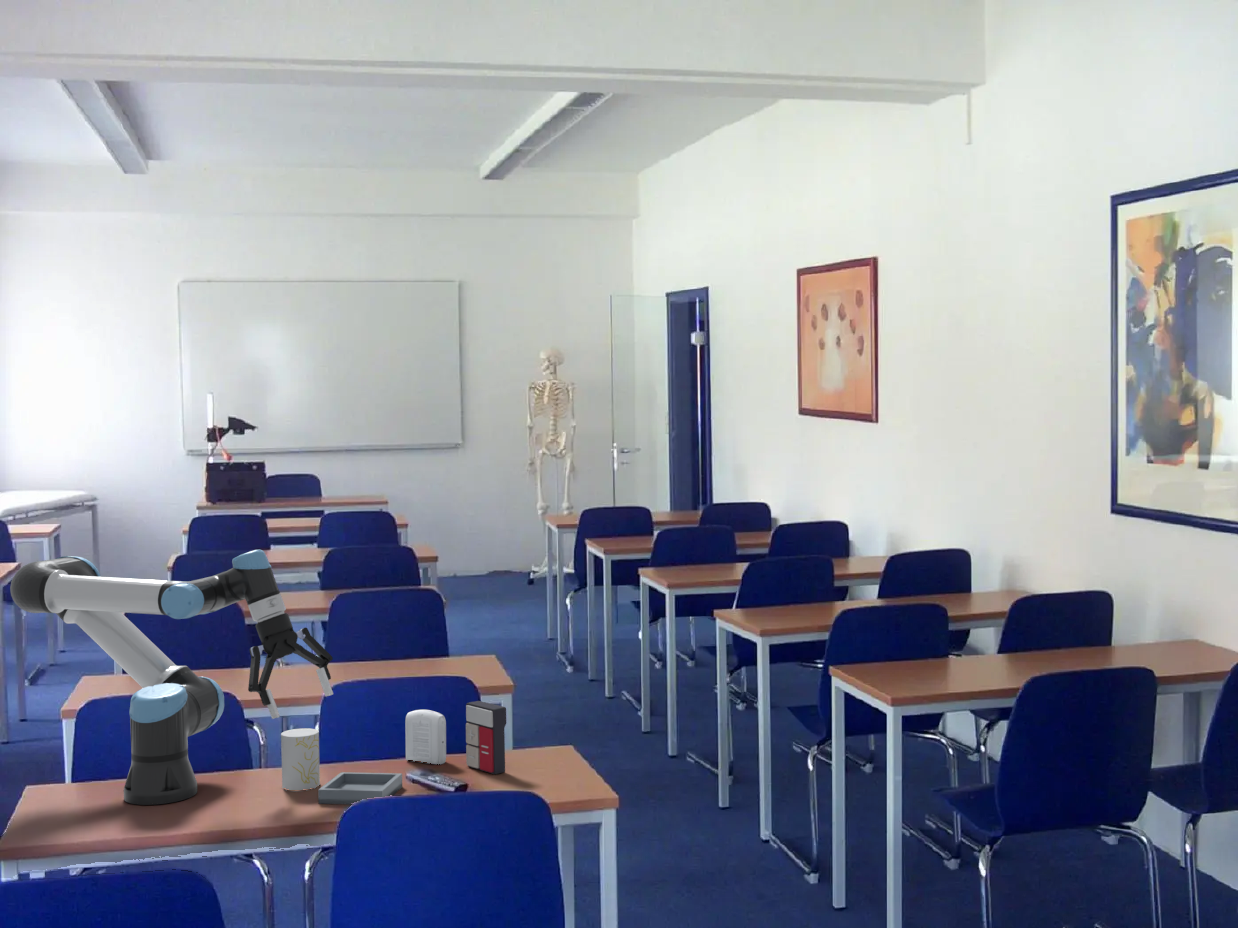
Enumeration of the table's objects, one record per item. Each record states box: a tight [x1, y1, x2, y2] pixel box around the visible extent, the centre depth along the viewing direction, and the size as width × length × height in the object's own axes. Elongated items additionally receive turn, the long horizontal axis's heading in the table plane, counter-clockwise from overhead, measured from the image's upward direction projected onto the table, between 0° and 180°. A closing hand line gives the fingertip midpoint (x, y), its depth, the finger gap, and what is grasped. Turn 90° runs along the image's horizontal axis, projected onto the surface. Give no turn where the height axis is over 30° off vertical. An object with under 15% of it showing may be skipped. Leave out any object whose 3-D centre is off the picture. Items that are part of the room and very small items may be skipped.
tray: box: [317, 771, 403, 805], centre depth 281 cm, size 14×14×3 cm
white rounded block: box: [404, 709, 447, 766], centre depth 309 cm, size 10×4×12 cm, turn 64°
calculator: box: [465, 700, 507, 775], centre depth 301 cm, size 11×4×15 cm, turn 42°
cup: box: [280, 727, 321, 790], centre depth 289 cm, size 8×8×12 cm
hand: (303, 706), depth 291 cm, fingers open, 13 cm apart
